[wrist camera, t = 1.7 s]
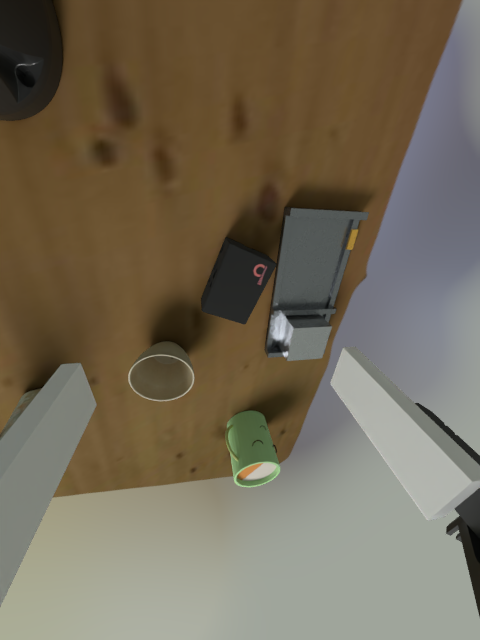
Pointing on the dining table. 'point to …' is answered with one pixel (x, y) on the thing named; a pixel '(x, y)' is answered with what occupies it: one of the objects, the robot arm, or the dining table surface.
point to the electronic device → (236, 281)
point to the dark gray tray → (308, 279)
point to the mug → (251, 449)
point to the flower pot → (162, 372)
